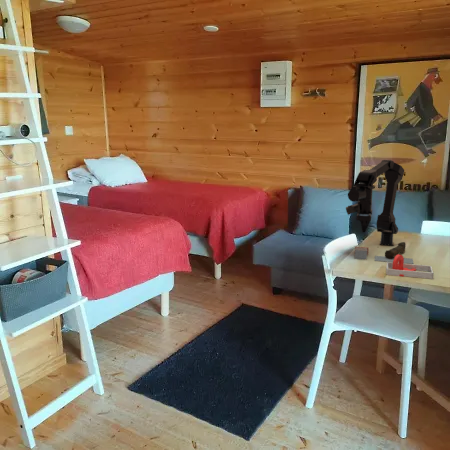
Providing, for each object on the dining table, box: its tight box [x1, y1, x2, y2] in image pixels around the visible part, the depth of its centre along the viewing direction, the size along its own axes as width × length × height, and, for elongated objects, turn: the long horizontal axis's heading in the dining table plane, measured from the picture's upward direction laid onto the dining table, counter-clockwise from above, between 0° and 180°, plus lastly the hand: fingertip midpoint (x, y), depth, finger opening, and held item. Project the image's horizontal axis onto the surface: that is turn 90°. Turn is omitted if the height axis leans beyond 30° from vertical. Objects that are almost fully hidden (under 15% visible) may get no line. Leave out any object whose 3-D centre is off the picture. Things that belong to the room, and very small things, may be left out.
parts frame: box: [385, 262, 434, 280], centre depth 179 cm, size 10×17×2 cm, turn 70°
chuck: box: [354, 246, 368, 260], centre depth 201 cm, size 5×5×4 cm
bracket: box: [391, 253, 417, 277], centre depth 179 cm, size 12×4×8 cm, turn 131°
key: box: [354, 246, 369, 256], centre depth 203 cm, size 7×6×3 cm
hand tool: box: [384, 242, 406, 259], centre depth 204 cm, size 19×4×5 cm, turn 135°
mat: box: [374, 255, 415, 265], centre depth 197 cm, size 8×16×1 cm, turn 70°
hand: (363, 232), depth 207 cm, fingers closed
